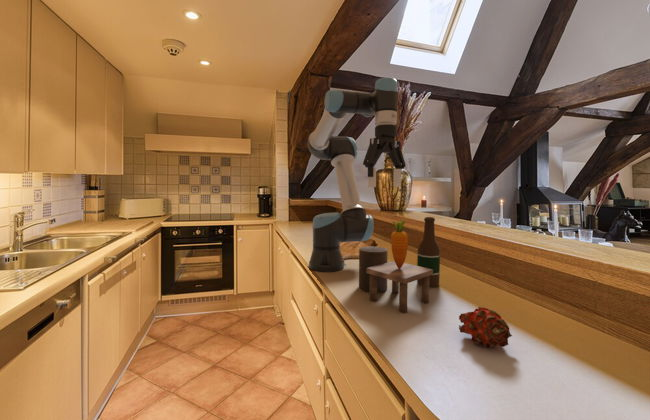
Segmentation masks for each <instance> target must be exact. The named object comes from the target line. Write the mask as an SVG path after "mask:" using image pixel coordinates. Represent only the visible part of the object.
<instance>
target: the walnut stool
mask: <svg viewBox="0 0 650 420" xmlns="http://www.w3.org/2000/svg"><path fill="white" fill-rule="evenodd" d="M366 273H368V274H370V293H369V301H370V302H377V301H378V300H377V299H378V295H377V294H378V293H377V276H379V277H382V278H385V279H387V280H390V281H391V292H392V293H393V294H398V312H399V313H401V314H406V313H408V287H409V286H408V285H409V283H412V282H415V281H417V280H418V279H421V278H422V286H421V291H420V292H421V293H420V298H421V300H420V302H421V303H422V304H428V303H430V287H429V276H430V275H433V269H428V268H424V267H420V266H417V265H414V264H411V263H405V262H404V264H403V265H402V267H401V268H400V269H399V268H398V267H397V265H396V263H395V261H394V260H393V261H389V262H388V261H387V263H384V264H381V265H377V266H373V267H369V268H366Z"/></svg>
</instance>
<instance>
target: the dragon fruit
mask: <svg viewBox="0 0 650 420" xmlns="http://www.w3.org/2000/svg"><path fill="white" fill-rule="evenodd" d="M458 320H459V321H460V323H461V324H462V325H458V330H459V332H460V333H461V334H462V333H464V334H466V335H471V339H470V340H471V342H472V343H473V344H475V345H479V344H481V343H482V345H484V346H485V347H486V348H491V349H495V347H496V346H499V347H504V348H505V347H506V346H508V345H509V340H508V339H510V337H513V335H512V333H511V332H510V327H509V325H508V323H507V322H506V321H505V320H504V319H502V316H501V315H500V314H499V313H497V311H495V310H494V309H489V308H487V307H483V306H478V307H477V308H475V309H474V311H468V312H465V313H464V312H463V313H460V315H459V316H458Z"/></svg>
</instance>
